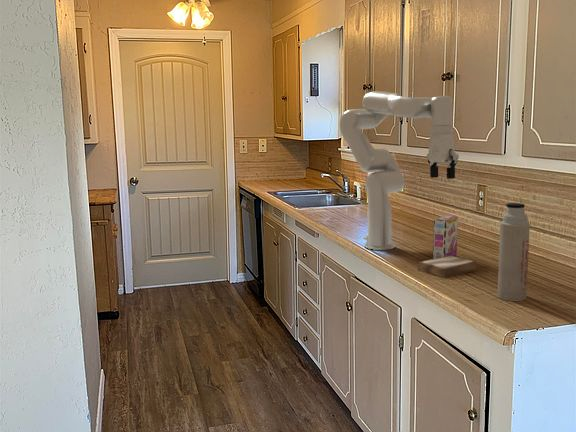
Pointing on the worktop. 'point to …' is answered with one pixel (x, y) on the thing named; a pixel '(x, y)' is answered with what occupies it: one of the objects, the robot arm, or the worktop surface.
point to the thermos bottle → (513, 253)
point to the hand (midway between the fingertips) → (442, 177)
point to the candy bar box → (445, 236)
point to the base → (447, 266)
